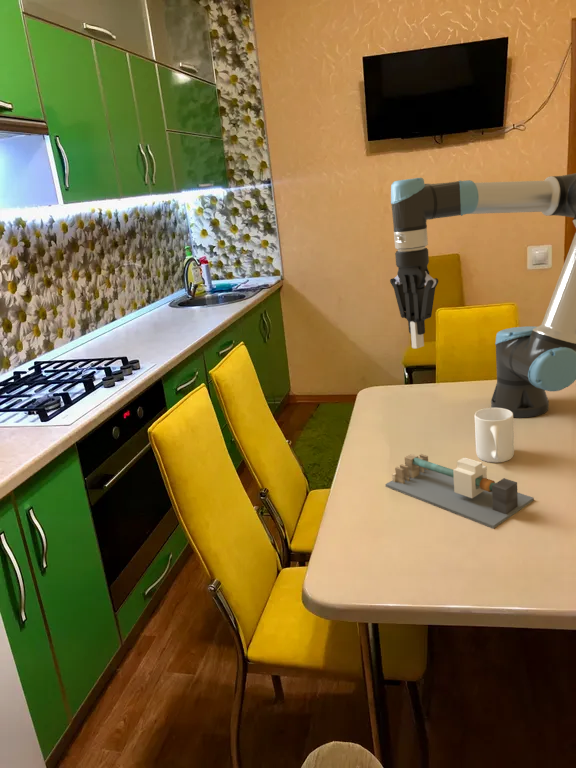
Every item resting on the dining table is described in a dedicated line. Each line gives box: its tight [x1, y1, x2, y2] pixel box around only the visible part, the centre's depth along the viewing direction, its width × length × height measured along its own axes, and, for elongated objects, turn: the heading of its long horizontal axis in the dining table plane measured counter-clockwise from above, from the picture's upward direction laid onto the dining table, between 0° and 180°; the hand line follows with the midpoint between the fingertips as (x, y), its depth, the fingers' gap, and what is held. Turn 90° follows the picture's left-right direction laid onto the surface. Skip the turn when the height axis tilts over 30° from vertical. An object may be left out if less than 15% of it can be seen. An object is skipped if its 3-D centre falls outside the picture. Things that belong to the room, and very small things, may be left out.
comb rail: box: [391, 453, 518, 514], centre depth 132 cm, size 10×27×6 cm, turn 38°
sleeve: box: [453, 457, 488, 498], centre depth 128 cm, size 5×4×7 cm
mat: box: [385, 469, 535, 530], centre depth 133 cm, size 14×28×1 cm, turn 38°
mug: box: [474, 407, 515, 464], centre depth 144 cm, size 9×12×11 cm
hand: (417, 346), depth 150 cm, fingers closed
